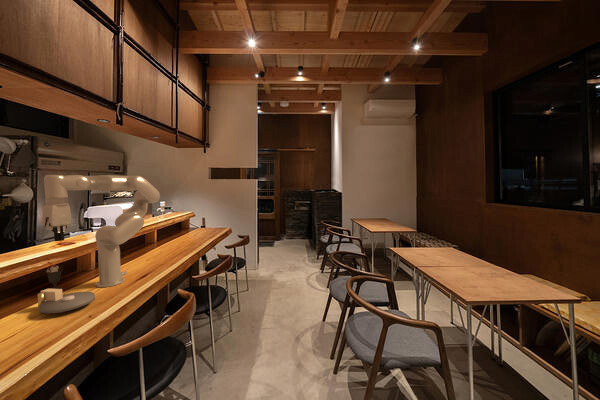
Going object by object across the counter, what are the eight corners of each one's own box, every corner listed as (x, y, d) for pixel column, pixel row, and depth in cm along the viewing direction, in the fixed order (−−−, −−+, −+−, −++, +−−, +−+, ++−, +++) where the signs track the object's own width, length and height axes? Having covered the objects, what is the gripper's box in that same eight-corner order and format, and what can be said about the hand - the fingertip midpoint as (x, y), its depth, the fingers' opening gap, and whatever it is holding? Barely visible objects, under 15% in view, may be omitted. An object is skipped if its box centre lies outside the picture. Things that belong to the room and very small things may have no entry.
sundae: (42, 291, 129) (41, 262, 128) (59, 287, 135) (57, 259, 134) (50, 293, 126) (49, 263, 126) (67, 288, 133) (65, 260, 132)
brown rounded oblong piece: (56, 302, 117) (55, 287, 117) (85, 304, 115) (84, 288, 115) (36, 310, 109) (35, 294, 109) (67, 312, 107) (66, 296, 107)
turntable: (34, 304, 111) (33, 291, 110) (86, 290, 125) (86, 279, 125) (44, 317, 99) (43, 304, 99) (100, 301, 113) (100, 289, 113)
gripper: (64, 200, 126) (66, 237, 127) (31, 202, 111) (34, 244, 112) (79, 200, 126) (81, 237, 127) (48, 202, 111) (51, 244, 112)
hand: (59, 240), depth 120 cm, fingers closed
